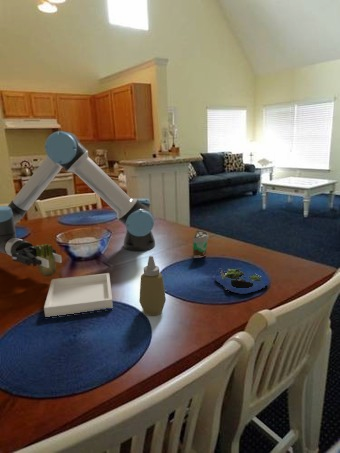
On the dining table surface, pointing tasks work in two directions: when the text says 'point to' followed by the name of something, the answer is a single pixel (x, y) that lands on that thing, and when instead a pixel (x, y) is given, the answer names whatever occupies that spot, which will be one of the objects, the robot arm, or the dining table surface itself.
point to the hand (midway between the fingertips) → (54, 261)
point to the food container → (200, 243)
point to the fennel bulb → (49, 257)
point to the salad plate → (235, 275)
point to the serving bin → (78, 295)
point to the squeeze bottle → (152, 289)
